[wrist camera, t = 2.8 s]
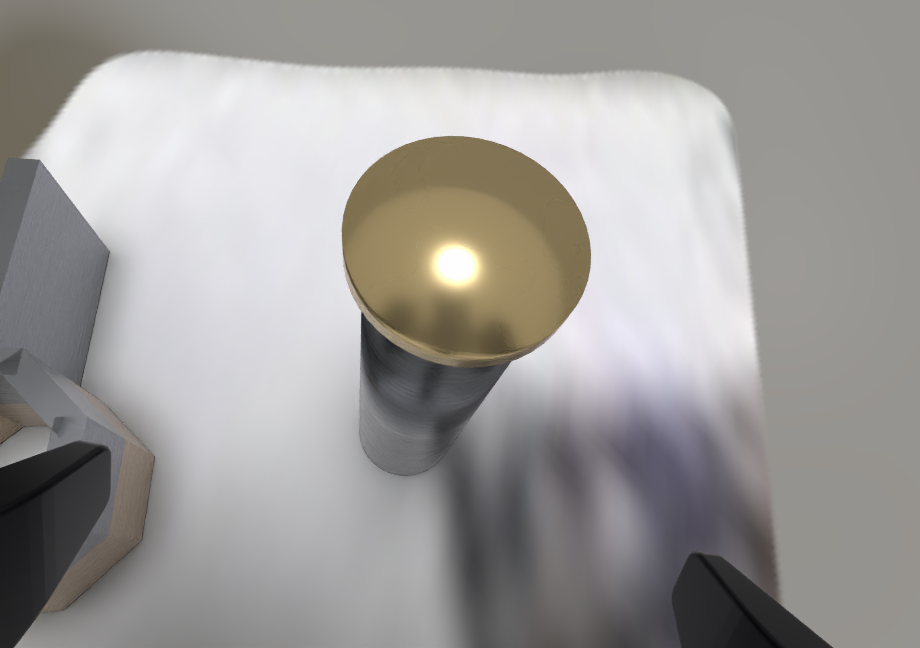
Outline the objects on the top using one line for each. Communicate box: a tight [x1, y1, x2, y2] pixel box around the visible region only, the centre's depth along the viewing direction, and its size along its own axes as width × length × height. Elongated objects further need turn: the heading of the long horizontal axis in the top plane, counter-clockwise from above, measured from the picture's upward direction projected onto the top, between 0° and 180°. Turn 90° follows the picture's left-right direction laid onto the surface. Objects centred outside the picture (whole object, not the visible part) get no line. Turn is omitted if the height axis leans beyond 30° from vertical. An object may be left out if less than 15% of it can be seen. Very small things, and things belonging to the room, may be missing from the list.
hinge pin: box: [342, 136, 591, 476], centre depth 14 cm, size 4×4×12 cm
